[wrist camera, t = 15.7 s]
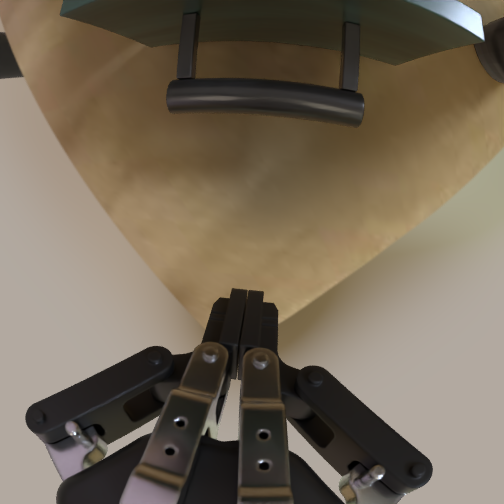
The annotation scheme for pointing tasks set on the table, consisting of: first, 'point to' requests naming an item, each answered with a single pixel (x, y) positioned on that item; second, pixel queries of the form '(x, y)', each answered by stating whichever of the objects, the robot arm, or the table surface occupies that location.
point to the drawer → (284, 31)
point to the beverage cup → (493, 49)
